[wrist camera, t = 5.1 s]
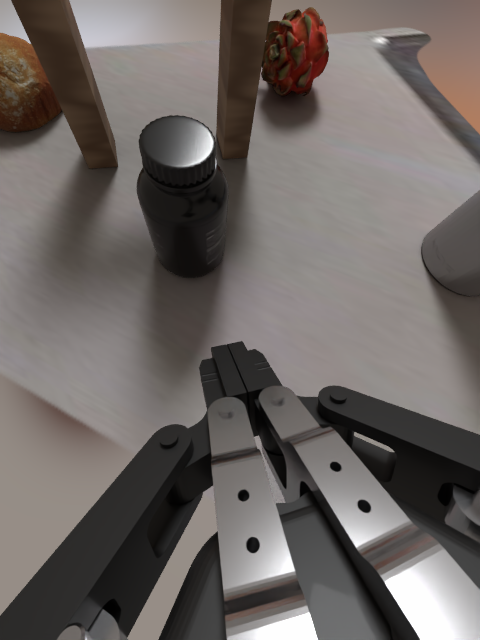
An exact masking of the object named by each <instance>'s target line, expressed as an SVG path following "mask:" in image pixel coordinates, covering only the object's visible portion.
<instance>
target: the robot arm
mask: <svg viewBox="0 0 480 640" xmlns="http://www.w3.org/2000/svg"><path fill="white" fill-rule="evenodd" d="M422 254H423V259H424V261H425V264H426V266H427V268H428V269H429V271H430V272H431V274H432V275H433V276H434V277H435V278H436V279H437V280H438V281H439V282H440V283H441V284H442V285H444V286H445V287H447V288H448V289H450V290H452V291H454V292H457V293H459V294H463V295H467V296H478V295H480V190H479V191H478V192H477V193H475V194H474V195H473V196H472V197H471V198H469V199H468V200H467V201H466V202H465V203H463V204H462V205H461V206H460V207H459V208H457V209H456V210H455V211H454V212H453V213H451V214H450V215H449V216H448V217H447V218H445V219H444V220H443V221H442V222H441V223H440V224H438V225H437V226H436V227H435V228H434V229H432V230H431V231H430V232H429V233H428V234H427V235H426V237H425V238H424V241H423V243H422ZM211 352H212V358H211V359H206V360H202V362H201V364H200V367H199V370H200V375H201V381H202V387H203V392H204V397H205V402H206V407H207V412H206V414H205V416H204V418H203V419H202V420H201V421H200V422H198V423H197V424H195V425H194V426H192V427H190V428H186V427H185V426H183V425H178V424H174V425H168V426H165V427H163V428H161V429H160V430H158V431H157V432H156V433H155V434H154V435H153V436H152V437H151V438H150V439H149V440H148V442H147V443H146V444H145V445H144V446H143V448H142V449H141V450H140V451H139V452H138V453H137V455H136V456H135V457H134V458H133V459H132V461H131V462H130V463H129V464H128V465H127V466H126V468H125V469H124V470H123V471H122V472H121V474H120V475H119V476H118V477H117V478H116V479H115V481H114V482H113V483H112V484H111V486H110V487H109V488H108V489H107V490H106V491H105V493H104V494H103V495H102V496H101V497H100V498H99V500H98V501H97V502H96V503H95V504H94V506H93V507H92V508H91V509H90V510H89V511H88V513H87V514H86V515H85V516H84V517H83V519H82V520H81V521H80V522H79V523H78V524H77V526H76V527H75V528H74V529H73V530H72V532H71V533H70V534H69V535H68V536H67V537H66V539H65V540H64V541H63V542H62V544H61V545H60V546H59V547H58V548H57V549H56V550H55V552H54V553H53V554H52V555H51V556H50V558H49V559H48V560H47V561H46V562H45V563H44V565H43V566H42V567H41V568H40V569H39V571H38V572H37V573H36V574H35V575H34V576H33V578H32V579H31V580H30V581H29V582H28V584H27V585H26V586H25V587H24V588H23V590H22V591H21V592H20V593H19V594H18V596H17V597H16V598H15V599H14V600H13V602H12V603H11V604H10V605H9V606H8V607H7V608H6V610H5V611H4V612H3V613H2V614H1V616H0V640H128V639H127V637H128V635H129V633H130V631H131V629H132V628H133V626H134V624H135V622H136V620H137V618H138V616H139V615H140V612H141V611H142V609H143V607H144V605H145V603H146V601H147V599H148V597H149V596H150V594H151V592H152V590H153V588H154V586H155V584H156V583H157V581H158V579H159V577H160V575H161V573H162V571H163V569H164V568H165V566H166V564H167V562H168V560H169V558H170V556H171V555H172V553H173V551H174V549H175V547H176V545H177V543H178V541H179V540H180V538H181V536H182V534H183V532H184V530H185V528H186V527H187V525H188V523H189V521H190V519H191V517H192V515H193V513H194V511H195V510H196V508H197V506H198V504H199V502H200V500H201V498H202V495H203V492H204V491H205V490H207V489H208V488H210V487H211V486H213V487H214V497H215V508H216V518H217V528H218V531H217V532H216V533H215V534H214V535H213V536H212V537H211V538H210V539H209V540H208V541H207V542H206V543H205V544H204V546H203V547H202V548H201V550H200V551H199V553H198V554H197V556H196V558H195V559H194V561H193V563H192V565H191V567H190V569H189V571H188V573H187V576H186V578H185V580H184V582H183V585H182V587H181V589H180V592H179V594H178V596H177V599H176V601H175V603H174V606H173V608H172V610H171V612H170V615H169V617H168V619H167V621H166V624H165V626H164V628H163V630H162V633H161V635H160V637H159V640H480V435H478V434H475V433H473V432H470V431H467V430H464V429H461V428H458V427H456V426H453V425H450V424H447V423H444V422H441V421H439V420H436V419H433V418H430V417H427V416H424V415H421V414H419V413H416V412H413V411H410V410H407V409H404V408H402V407H399V406H396V405H393V404H390V403H387V402H385V401H382V400H379V399H376V398H373V397H370V396H367V395H365V394H362V393H359V392H356V391H353V390H350V389H348V388H345V387H341V386H328V387H325V388H323V389H322V390H321V391H320V392H319V395H318V397H300V396H296V395H295V394H294V392H293V391H292V390H290V389H289V388H287V387H284V386H282V384H281V383H280V381H279V379H278V378H277V376H276V375H275V373H274V371H273V370H272V368H271V367H270V365H269V363H268V362H267V360H266V358H265V357H264V355H263V354H262V353H260V352H259V351H257V350H256V349H253V350H249V351H247V349H246V347H245V345H244V343H243V342H242V341H241V342H236V343H231V344H227V345H221V346H216V347H211ZM354 432H357V433H359V434H361V435H364V436H366V437H368V438H370V439H373V440H375V441H377V442H380V443H382V444H384V445H387V446H389V447H390V448H391V449H393V450H394V451H395V452H389V451H387V450H384V449H382V448H380V447H378V446H375V445H373V444H371V443H369V442H366V441H364V440H362V439H360V438H357V437H355V436H354ZM258 435H259V437H260V439H261V442H262V452H263V455H264V457H265V459H266V461H267V463H268V465H269V467H270V469H271V471H272V473H273V475H274V477H275V480H276V482H277V484H278V486H279V488H280V490H281V492H282V494H283V496H284V499H285V502H286V503H275V500H274V496H273V493H272V489H271V486H270V482H269V479H268V475H267V472H266V468H265V465H264V461H263V458H262V455H261V452H260V450H259V449H257V447H256V443H255V440H254V437H255V436H258Z"/></svg>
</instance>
